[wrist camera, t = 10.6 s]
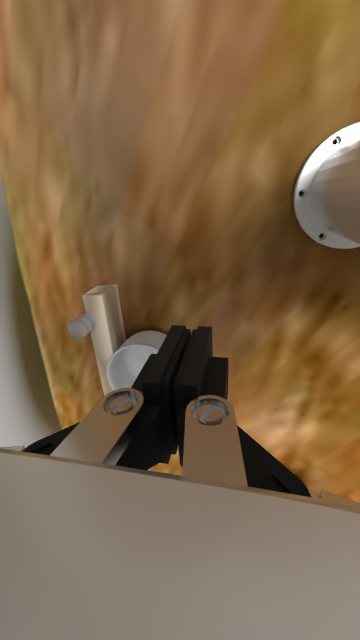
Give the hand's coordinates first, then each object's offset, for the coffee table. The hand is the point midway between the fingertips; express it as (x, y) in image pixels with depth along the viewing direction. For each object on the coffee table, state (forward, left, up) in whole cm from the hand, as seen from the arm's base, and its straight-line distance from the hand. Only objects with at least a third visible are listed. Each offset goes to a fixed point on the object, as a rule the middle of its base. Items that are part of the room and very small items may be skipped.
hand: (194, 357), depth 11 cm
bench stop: (+18, +18, -27) cm, 37 cm away
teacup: (+10, +18, -27) cm, 34 cm away
